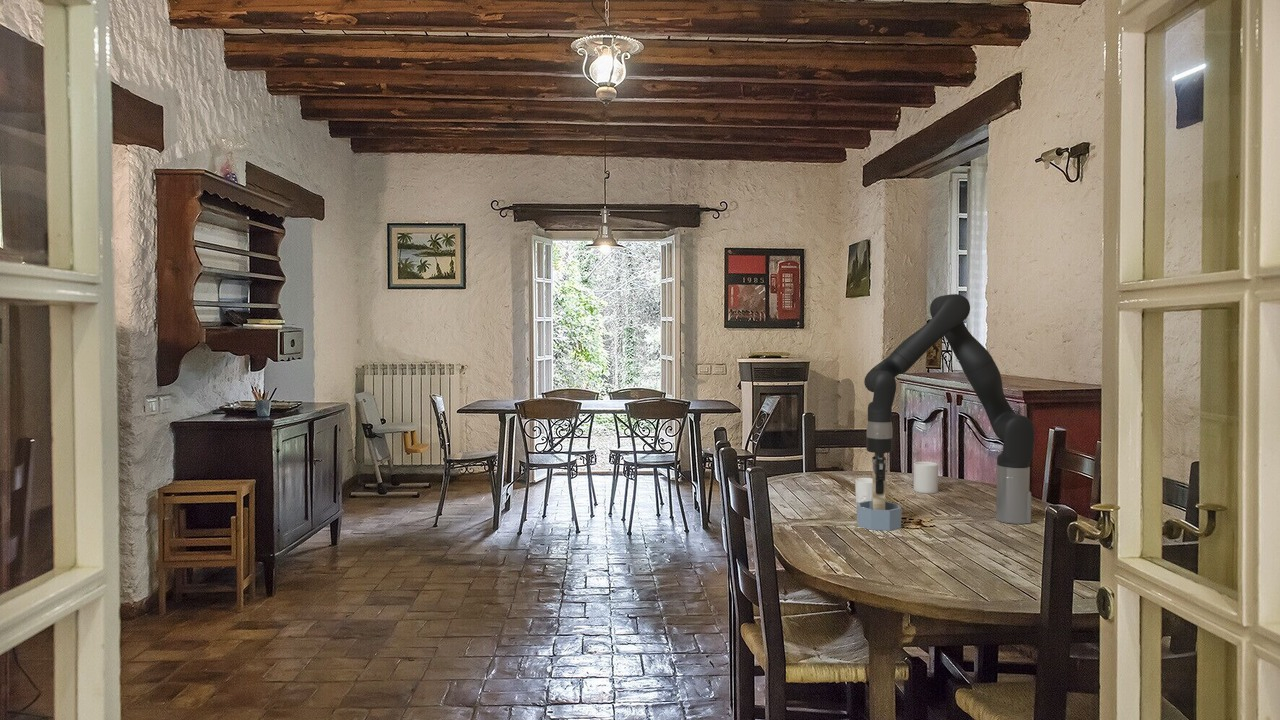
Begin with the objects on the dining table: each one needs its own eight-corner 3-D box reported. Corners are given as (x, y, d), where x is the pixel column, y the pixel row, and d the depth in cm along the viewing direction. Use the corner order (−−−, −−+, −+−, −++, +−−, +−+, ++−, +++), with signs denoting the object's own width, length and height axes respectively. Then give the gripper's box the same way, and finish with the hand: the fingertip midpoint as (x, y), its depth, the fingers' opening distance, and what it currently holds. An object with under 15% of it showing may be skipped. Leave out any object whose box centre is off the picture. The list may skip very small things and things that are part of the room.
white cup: (852, 511, 260) (852, 481, 260) (857, 506, 267) (857, 476, 267) (876, 514, 257) (877, 483, 256) (881, 509, 264) (882, 479, 263)
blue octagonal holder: (897, 520, 248) (898, 501, 247) (902, 531, 235) (902, 511, 235) (855, 519, 250) (856, 500, 250) (858, 529, 238) (858, 509, 238)
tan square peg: (883, 519, 244) (884, 470, 243) (885, 522, 241) (885, 472, 240) (872, 518, 245) (872, 470, 244) (873, 521, 241) (873, 472, 241)
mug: (912, 486, 298) (912, 459, 298) (935, 487, 296) (936, 460, 295) (914, 493, 287) (914, 465, 286) (938, 494, 284) (939, 466, 284)
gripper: (894, 439, 234) (894, 497, 235) (889, 433, 248) (889, 488, 249) (868, 439, 235) (867, 496, 236) (864, 432, 249) (864, 487, 250)
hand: (878, 492), depth 242 cm, fingers closed on tan square peg, 3 cm apart
